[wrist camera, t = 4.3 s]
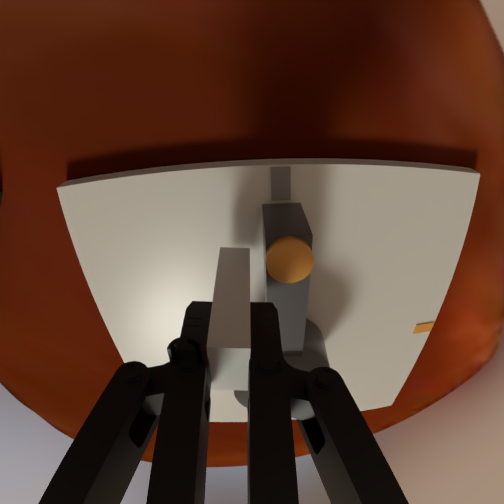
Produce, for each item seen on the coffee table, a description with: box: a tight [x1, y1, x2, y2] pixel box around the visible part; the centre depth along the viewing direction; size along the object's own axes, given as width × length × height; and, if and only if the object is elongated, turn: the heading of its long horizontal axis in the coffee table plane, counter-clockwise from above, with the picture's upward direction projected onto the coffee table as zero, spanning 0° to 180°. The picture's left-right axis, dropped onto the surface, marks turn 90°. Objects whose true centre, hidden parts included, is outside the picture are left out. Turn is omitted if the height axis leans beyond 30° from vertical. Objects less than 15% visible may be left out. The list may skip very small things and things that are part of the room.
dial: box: [234, 203, 330, 408], centre depth 18 cm, size 14×6×4 cm, turn 3°
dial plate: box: [57, 158, 480, 422], centre depth 22 cm, size 26×26×1 cm
